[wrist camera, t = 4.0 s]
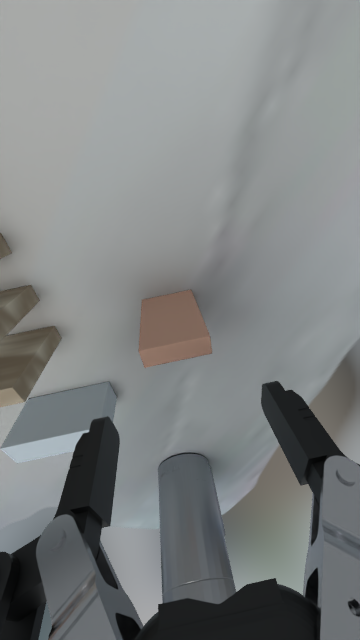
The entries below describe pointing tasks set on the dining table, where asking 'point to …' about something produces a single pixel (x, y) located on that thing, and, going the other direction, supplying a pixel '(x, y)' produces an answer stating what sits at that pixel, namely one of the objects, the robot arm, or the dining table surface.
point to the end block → (57, 421)
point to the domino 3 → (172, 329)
